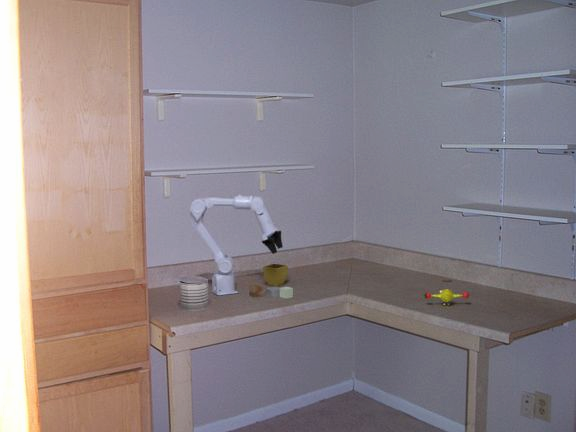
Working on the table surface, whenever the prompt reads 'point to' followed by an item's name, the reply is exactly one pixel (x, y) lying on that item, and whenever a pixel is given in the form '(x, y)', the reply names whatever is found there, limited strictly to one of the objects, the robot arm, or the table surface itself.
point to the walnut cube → (256, 291)
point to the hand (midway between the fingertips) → (277, 250)
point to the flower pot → (275, 274)
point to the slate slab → (273, 291)
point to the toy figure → (446, 295)
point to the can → (193, 293)
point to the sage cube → (286, 292)
